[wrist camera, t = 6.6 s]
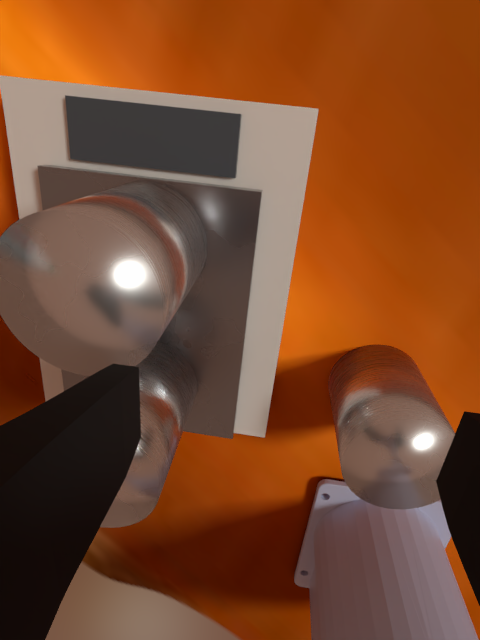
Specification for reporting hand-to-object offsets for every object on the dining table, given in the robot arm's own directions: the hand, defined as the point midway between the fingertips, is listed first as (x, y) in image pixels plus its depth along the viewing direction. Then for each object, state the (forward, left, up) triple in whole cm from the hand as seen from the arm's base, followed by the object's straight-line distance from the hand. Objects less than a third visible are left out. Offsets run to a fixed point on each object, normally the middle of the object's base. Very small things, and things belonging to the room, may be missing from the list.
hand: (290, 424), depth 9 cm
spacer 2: (-4, +6, -7) cm, 10 cm away
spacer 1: (+2, +6, -7) cm, 9 cm away
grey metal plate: (-1, +6, -7) cm, 9 cm away
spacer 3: (-5, -5, -10) cm, 12 cm away
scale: (0, +6, -10) cm, 11 cm away
